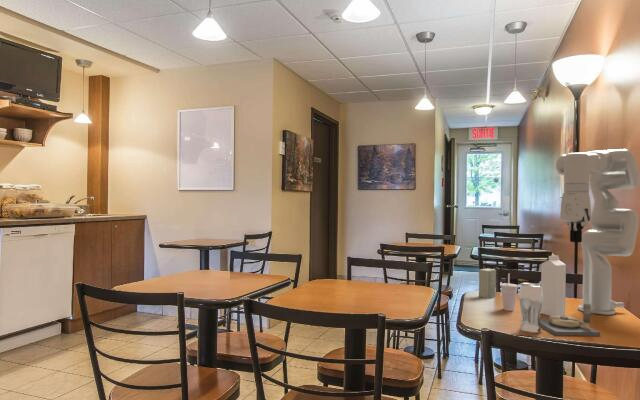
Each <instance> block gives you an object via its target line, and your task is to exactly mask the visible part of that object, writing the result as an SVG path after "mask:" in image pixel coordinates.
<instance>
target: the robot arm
mask: <svg viewBox="0 0 640 400" xmlns="http://www.w3.org/2000/svg"><path fill="white" fill-rule="evenodd" d="M555 167H556V171H557V173H558V174H560V176H563V193H562V196H561V202H560V203H561V204H560V215H559V217H560V220H561V221H563V222H564V224H565V225H567V226H568V230H569V242H571V243H580V247H581V252H582V302H581V304H579V305H577V310H579V311H582V312H583V308H584V304H591V314H594V315H604V316H605V315H606V316H609V315H611V316H612V315H615V314H616V313H617V310H616V308H624V307H625V303H624V302H622V301H621V302H620V301H619V302H618V301H617V302H616V301H614V300H613V299H612V283H613V282H612V281H613V280H612V279H613V278H612V273H613V270H612V265H611V263H610V261H609V260H608V258H607V257H606V256H614V257H630V256H631V255H632V254H634V253H633V252H634V250H635V247H636V241H637V235H638V232H639V231H638V230H639V223H640V222H639V221H640V219H639V216H638V213H637V212H636V211H635V210H633V209H630V208H620V207H619V206H620V200H619V199H618V198H617V197H616V195H614V193H613V192H611V191H609V190H633V189H636V188H638V187H639V185H640V172H639V168H638V164H637V160H636V158H635V155H634V154H633V152H632V151H631V150H630V149H626V148H623V149H622V148H619V149H607V150H606V149H603V150H602V149H601V150H591V151H584V152H570V153H567V154H561V155H560V156H559V157H558V158H557V160H556V164H555ZM590 190H591V193H592V196H593V200H594V203H593V207H591V206H592V205H591V203H592V202H591V195H590ZM589 225H590V227H591V229H588V230H585V231H584V227H587V226H589ZM583 231H584V232H583Z"/></svg>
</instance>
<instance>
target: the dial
mask: <svg viewBox="0 0 640 400" xmlns="http://www.w3.org/2000/svg"><path fill="white" fill-rule="evenodd" d="M582 312H583V313H582V314H583V317H582V319H583V320H580V319H578V318H576V317H573V316H567V315H563V316H560V315H553V316H550V315H548V318H549V323H551V324H553V325H557V326H562V327H586V328H589V327H590V324H591V314H592V313H591V304H584V308H583V311H582Z"/></svg>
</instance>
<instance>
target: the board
mask: <svg viewBox="0 0 640 400" xmlns="http://www.w3.org/2000/svg"><path fill="white" fill-rule="evenodd" d="M540 328H542V329H544V330H546V331H547V332H549V333H551V334H553V336H567V335H580V336H579V337H601V332H600V331H599V330H596V329H594V328H592V327H590V326H589V328H586V327H562V326H557V325H553V324H551V323H549V317H548V318H545V317H544V318H543V317H540ZM581 335H582V336H581Z"/></svg>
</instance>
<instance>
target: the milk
mask: <svg viewBox="0 0 640 400" xmlns="http://www.w3.org/2000/svg"><path fill="white" fill-rule="evenodd" d="M559 257H560V256H559V255H558V254H557V255H549V256H548V260H546V261H544V262H541V271H540V272H541V275H540V278H541V280H540V281H541V282H540V285H542V290H543V304H542V310H541V314H543V315H545V316H546V315H547V316H553V315H560V316H566V290H567V289H566V285H567V284H566V279H567V277H566V275H567V265H566V263H564V262H563V261H561V260H560V258H559Z"/></svg>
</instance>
